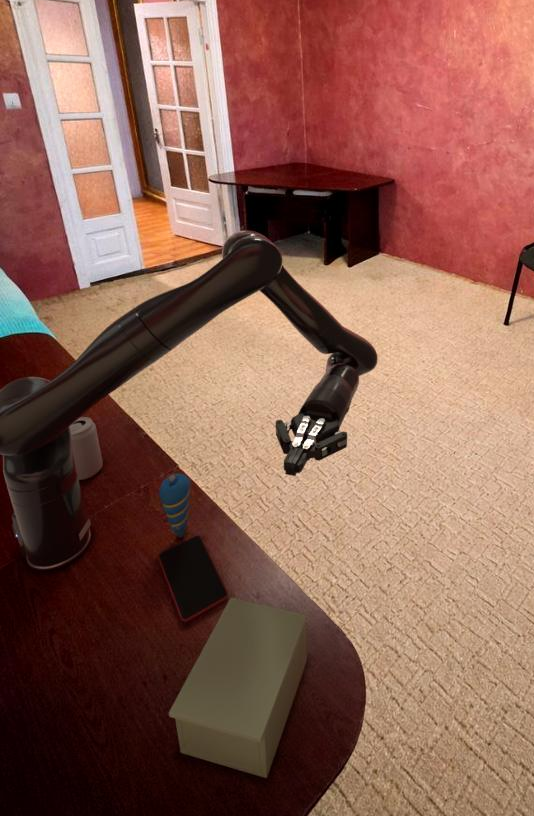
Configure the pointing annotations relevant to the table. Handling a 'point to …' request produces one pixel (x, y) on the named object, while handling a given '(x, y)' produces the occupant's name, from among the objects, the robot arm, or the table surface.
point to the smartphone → (192, 578)
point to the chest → (243, 750)
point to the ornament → (176, 501)
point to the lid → (240, 670)
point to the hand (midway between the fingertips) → (290, 470)
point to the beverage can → (85, 448)
